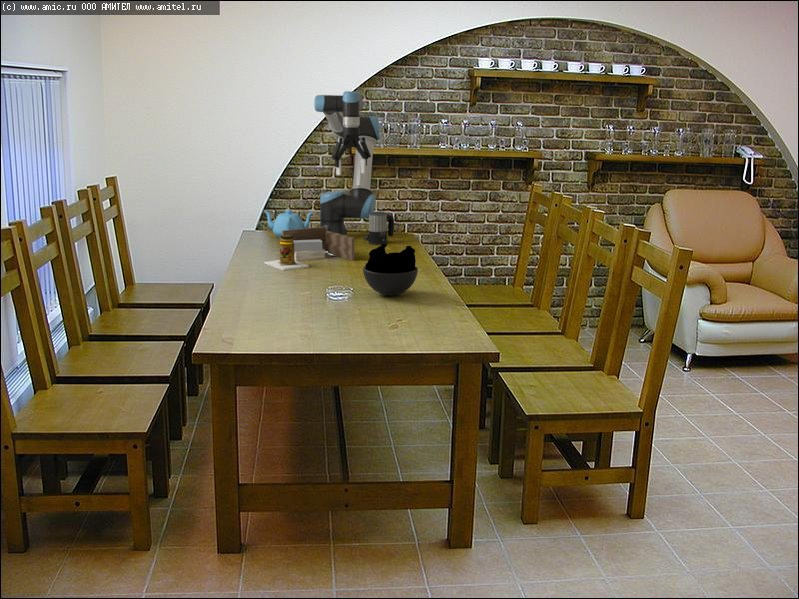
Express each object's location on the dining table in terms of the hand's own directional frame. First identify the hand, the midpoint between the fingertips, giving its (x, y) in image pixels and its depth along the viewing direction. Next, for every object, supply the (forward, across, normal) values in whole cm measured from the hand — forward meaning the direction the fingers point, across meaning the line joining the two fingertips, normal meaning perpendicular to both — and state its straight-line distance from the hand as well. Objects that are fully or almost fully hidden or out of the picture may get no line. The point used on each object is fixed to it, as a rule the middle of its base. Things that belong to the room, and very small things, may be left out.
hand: (351, 174), depth 393 cm
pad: (+35, -44, -16) cm, 58 cm away
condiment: (+34, -43, -16) cm, 57 cm away
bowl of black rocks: (+35, -39, -82) cm, 97 cm away
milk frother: (+35, +21, +9) cm, 42 cm away
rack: (+35, -26, -12) cm, 45 cm away
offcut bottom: (+35, -28, -7) cm, 45 cm away
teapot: (+35, -9, +40) cm, 54 cm away
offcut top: (+31, -28, -7) cm, 42 cm away
